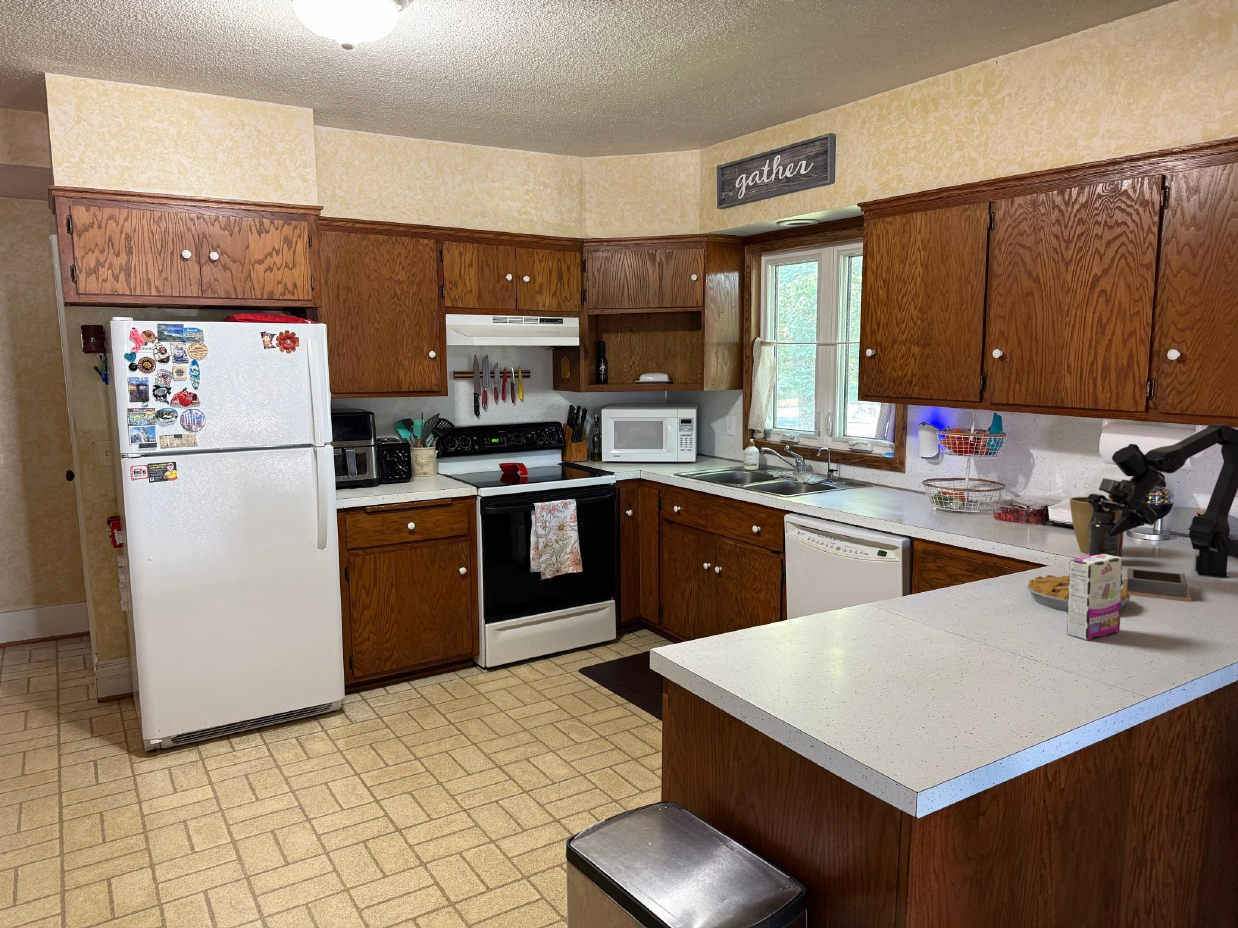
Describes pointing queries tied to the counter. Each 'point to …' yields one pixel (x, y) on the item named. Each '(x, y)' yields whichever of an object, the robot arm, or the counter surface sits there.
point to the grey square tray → (1157, 584)
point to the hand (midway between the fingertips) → (1099, 532)
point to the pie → (1058, 592)
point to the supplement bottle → (1103, 534)
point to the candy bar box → (1094, 596)
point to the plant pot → (1084, 520)
